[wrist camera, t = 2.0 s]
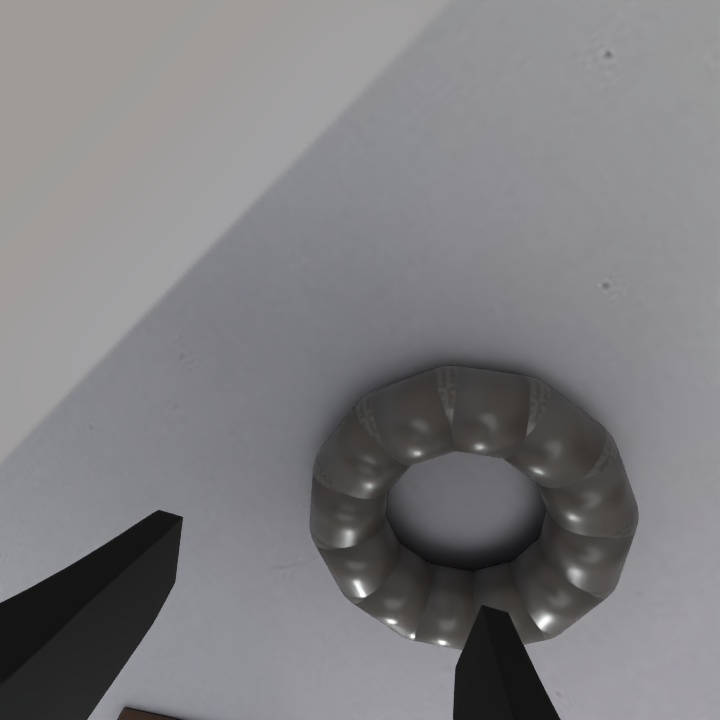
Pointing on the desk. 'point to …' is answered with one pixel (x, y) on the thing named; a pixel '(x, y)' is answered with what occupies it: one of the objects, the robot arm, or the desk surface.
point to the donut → (482, 437)
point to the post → (140, 715)
